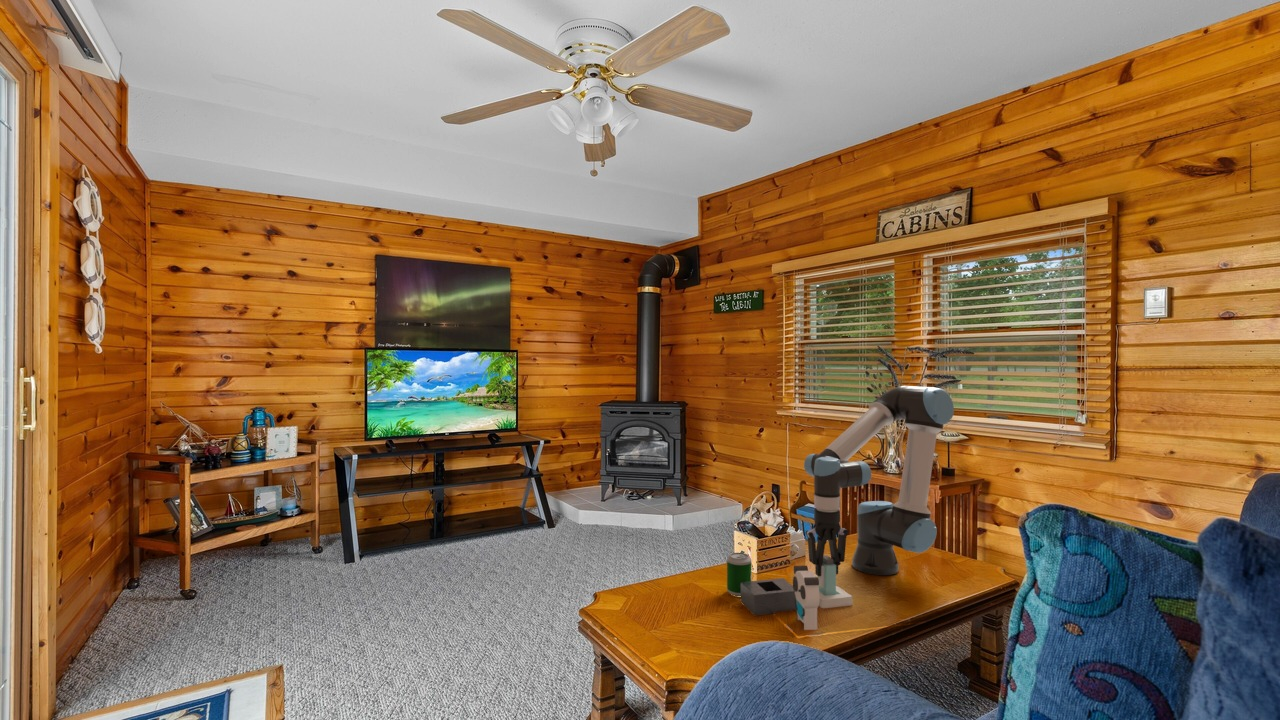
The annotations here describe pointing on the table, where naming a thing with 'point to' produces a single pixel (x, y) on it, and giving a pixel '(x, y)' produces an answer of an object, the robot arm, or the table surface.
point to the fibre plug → (829, 577)
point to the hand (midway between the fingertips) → (826, 585)
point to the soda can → (737, 572)
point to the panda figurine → (806, 597)
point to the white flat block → (835, 599)
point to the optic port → (768, 596)
